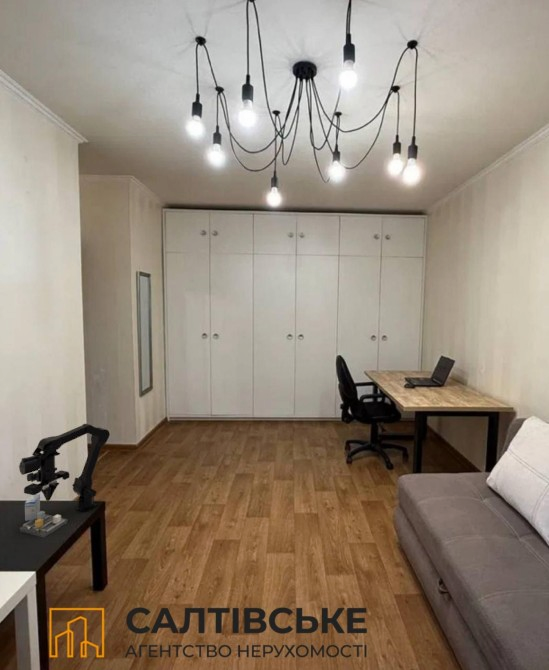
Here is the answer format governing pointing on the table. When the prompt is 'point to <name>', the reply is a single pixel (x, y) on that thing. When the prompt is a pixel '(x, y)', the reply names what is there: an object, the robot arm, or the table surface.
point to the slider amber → (39, 523)
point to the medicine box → (32, 507)
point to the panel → (44, 529)
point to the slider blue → (41, 515)
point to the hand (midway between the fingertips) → (48, 500)
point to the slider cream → (56, 519)
